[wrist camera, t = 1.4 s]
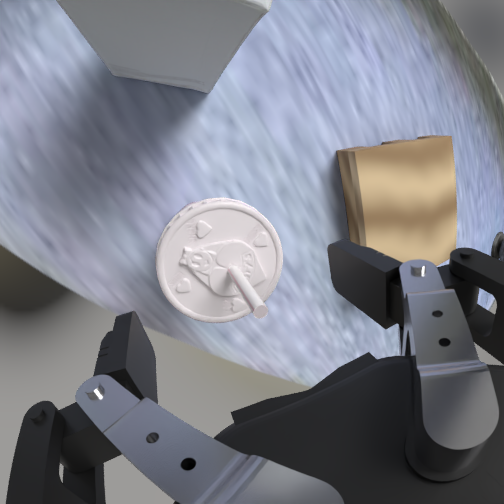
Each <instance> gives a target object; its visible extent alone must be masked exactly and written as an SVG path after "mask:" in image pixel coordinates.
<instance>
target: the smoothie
mask: <svg viewBox="0 0 504 504" xmlns="http://www.w3.org/2000/svg"><path fill="white" fill-rule="evenodd" d="M155 263H156V270H157V276H158V281H159V284H160V287H161V289H162V291H163V293H164V295H165V296H166V298H167V299H168V301H169V302H170V303H171V304H172V305H173V306H174V307H175V308H176V309H177V310H178V311H180V312H181V313H183V314H184V315H186V316H188V317H190V318H192V319H195V320H198V321H202V322H208V323H223V322H229V321H233V320H237V319H239V318H242V317H244V316H246V315H248V314H250V313H253V315H254V316H255V317H256V318H259V319H260V318H263V317H265V316H266V315H267V313H268V308H267V306H266V305H265V304H264V302H265V301H266V300H267V299H268V297H269V296H270V295H271V293H272V292H273V290H274V289H275V287H276V285H277V283H278V280H279V277H280V274H281V270H282V263H283V253H282V246H281V242H280V239H279V236H278V234H277V232H276V230H275V229H274V227H273V226H272V224H271V223H270V222H269V221H268V220H267V219H266V217H264V216H263V215H262V214H261V213H259V212H258V211H257V210H256V209H255V208H254V207H252V206H250V205H248V204H246V203H244V202H242V201H239V200H234V199H229V198H210V199H205V200H202V201H198V202H192V203H189V204H187V205H186V206H184V207H183V208H182V209H181V210H180V211H179V213H178V214H176V215H175V216H174V217H173V219H172V220H171V221H170V222H169V223H168V225H167V226H166V227H165V228H164V230H163V233H162V235H161V237H160V239H159V242H158V244H157V251H156V257H155Z"/></svg>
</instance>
